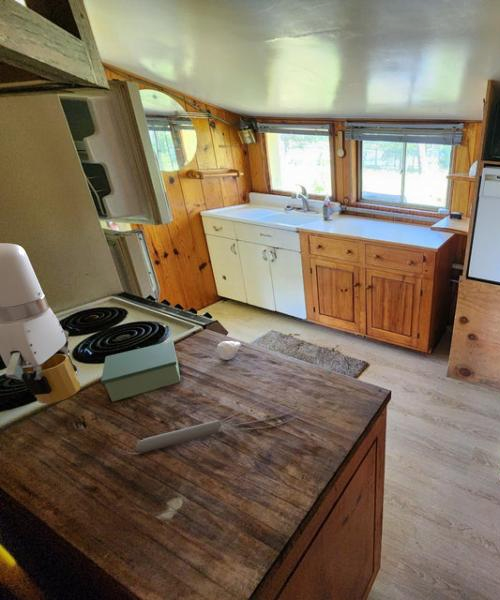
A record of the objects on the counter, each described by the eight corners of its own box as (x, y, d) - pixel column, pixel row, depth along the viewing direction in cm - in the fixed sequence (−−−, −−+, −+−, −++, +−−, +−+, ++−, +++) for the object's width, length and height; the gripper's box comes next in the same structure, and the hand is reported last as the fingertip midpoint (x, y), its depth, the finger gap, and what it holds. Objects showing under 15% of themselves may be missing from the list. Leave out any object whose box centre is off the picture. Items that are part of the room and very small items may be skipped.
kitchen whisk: (133, 442, 68) (123, 420, 65) (300, 407, 79) (298, 387, 77) (122, 467, 63) (111, 444, 60) (302, 426, 74) (300, 404, 71)
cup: (28, 405, 68) (12, 374, 64) (51, 384, 74) (37, 355, 70) (68, 401, 69) (54, 370, 66) (87, 381, 75) (75, 352, 72)
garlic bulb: (247, 352, 99) (244, 336, 97) (231, 362, 94) (228, 346, 92) (233, 347, 101) (230, 332, 98) (217, 358, 96) (213, 342, 93)
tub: (110, 403, 78) (100, 381, 75) (114, 377, 86) (105, 356, 83) (182, 382, 85) (175, 361, 83) (178, 360, 94) (173, 340, 91)
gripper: (28, 291, 70) (59, 360, 77) (-48, 331, 54) (-1, 412, 62) (71, 290, 71) (97, 357, 79) (9, 328, 56) (48, 407, 64)
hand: (54, 381), depth 70 cm, fingers closed on cup, 6 cm apart
